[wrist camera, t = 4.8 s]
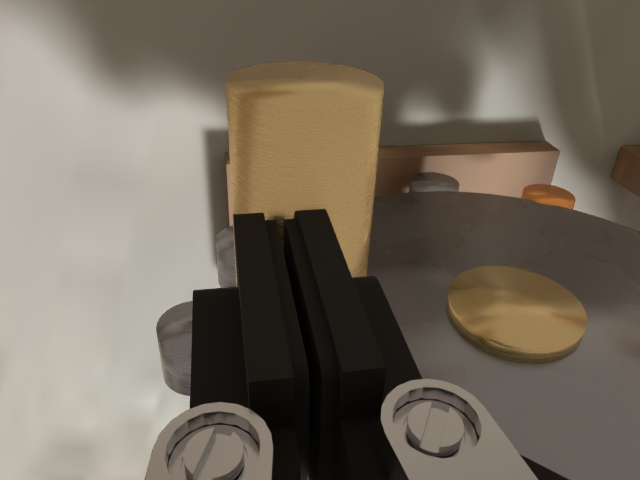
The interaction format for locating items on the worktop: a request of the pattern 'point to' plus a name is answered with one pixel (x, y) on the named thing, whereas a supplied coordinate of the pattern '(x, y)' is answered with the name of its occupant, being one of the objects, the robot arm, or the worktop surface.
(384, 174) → the wheel stand
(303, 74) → the sprocket
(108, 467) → the worktop surface
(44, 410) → the worktop surface
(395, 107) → the worktop surface
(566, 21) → the worktop surface
